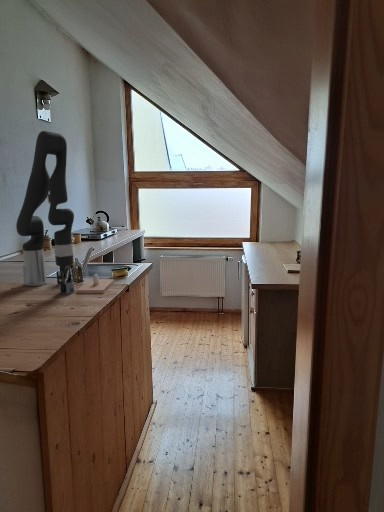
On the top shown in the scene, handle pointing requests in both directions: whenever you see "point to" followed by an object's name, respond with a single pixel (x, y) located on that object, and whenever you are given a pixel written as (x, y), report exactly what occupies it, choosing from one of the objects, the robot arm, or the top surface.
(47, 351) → the top surface
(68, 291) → the hub
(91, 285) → the shaft stand
